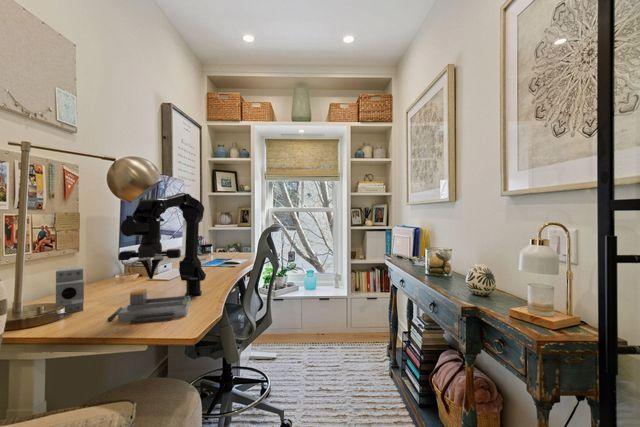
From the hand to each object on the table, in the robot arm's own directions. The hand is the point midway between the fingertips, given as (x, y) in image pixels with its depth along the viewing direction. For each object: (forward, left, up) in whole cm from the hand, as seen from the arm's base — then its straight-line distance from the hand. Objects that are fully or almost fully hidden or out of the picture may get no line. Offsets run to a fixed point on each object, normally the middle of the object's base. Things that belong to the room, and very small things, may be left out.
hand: (151, 278), depth 110 cm
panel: (0, +2, -12) cm, 12 cm away
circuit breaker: (-10, -28, -12) cm, 32 cm away
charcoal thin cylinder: (+10, +2, -12) cm, 16 cm away
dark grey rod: (0, -11, -12) cm, 16 cm away
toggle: (0, -4, -9) cm, 9 cm away
